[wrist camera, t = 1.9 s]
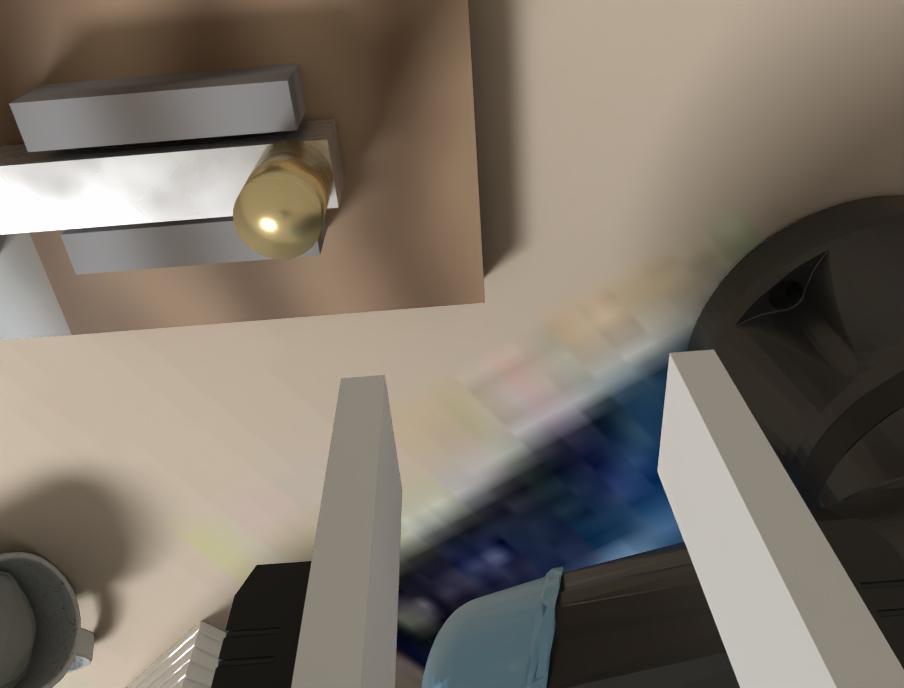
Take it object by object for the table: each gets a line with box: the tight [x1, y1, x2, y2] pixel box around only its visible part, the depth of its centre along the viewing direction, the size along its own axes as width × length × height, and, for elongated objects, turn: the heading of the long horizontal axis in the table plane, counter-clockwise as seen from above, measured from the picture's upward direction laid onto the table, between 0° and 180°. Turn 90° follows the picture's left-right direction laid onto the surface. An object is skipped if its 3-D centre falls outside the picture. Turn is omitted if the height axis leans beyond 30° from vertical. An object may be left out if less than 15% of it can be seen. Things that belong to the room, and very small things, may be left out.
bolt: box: [0, 119, 345, 260], centre depth 25 cm, size 12×3×6 cm, turn 94°
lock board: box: [0, 0, 485, 340], centre depth 26 cm, size 28×14×8 cm, turn 94°
